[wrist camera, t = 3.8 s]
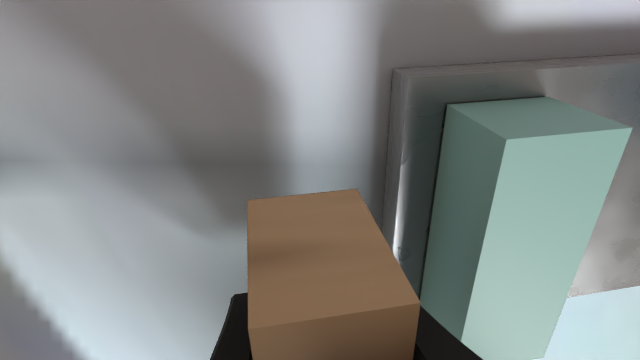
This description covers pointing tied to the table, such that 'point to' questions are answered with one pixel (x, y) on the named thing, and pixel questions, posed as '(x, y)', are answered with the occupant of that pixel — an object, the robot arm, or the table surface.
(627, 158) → the vise
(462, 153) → the block
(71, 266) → the table surface
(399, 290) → the walnut block
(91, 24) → the table surface
